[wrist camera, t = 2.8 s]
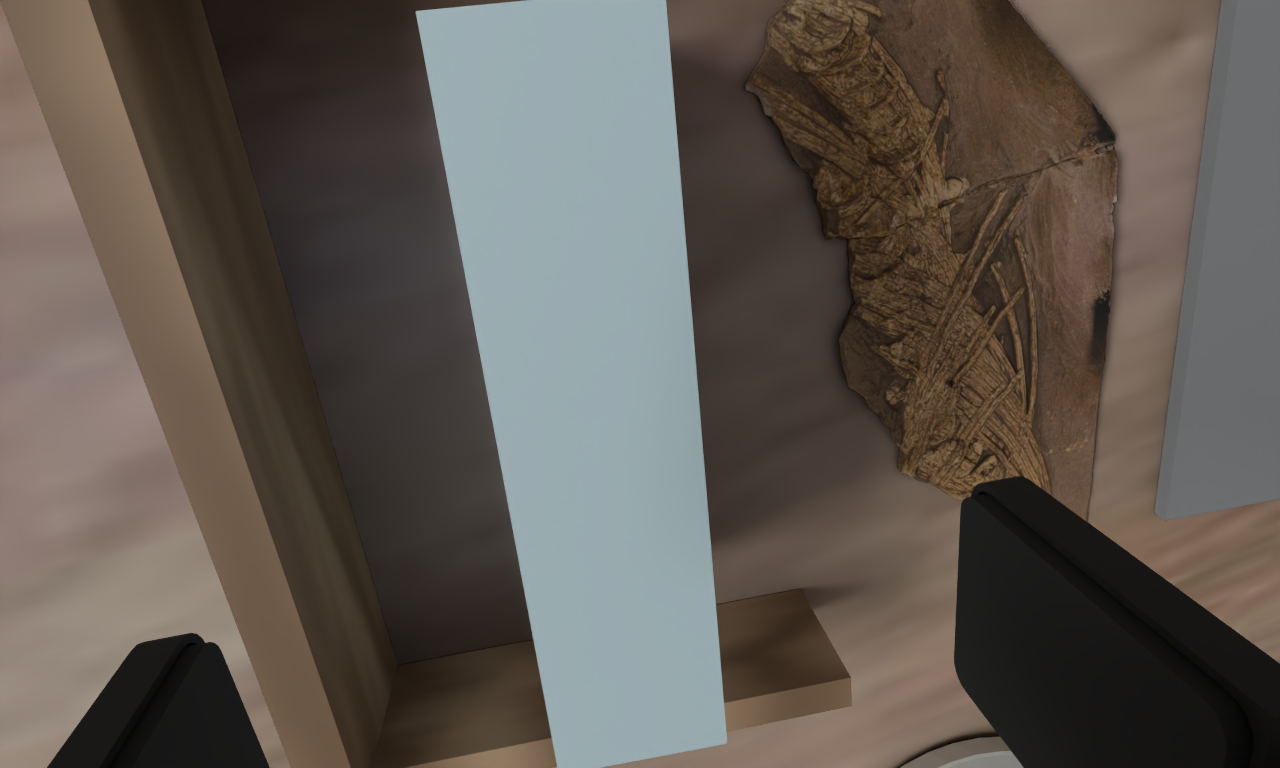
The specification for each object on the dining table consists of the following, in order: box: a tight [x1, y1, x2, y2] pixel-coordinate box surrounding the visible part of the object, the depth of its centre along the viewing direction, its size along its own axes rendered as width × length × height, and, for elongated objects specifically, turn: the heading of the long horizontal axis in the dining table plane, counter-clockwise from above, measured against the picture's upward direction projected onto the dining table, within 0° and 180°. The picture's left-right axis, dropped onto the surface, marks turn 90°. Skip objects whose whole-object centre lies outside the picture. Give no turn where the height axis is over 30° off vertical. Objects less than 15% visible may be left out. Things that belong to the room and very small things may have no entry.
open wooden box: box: [0, 0, 852, 768], centre depth 22 cm, size 17×25×6 cm
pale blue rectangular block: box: [416, 0, 727, 768], centre depth 21 cm, size 4×18×9 cm, turn 6°
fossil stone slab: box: [746, 0, 1118, 522], centre depth 26 cm, size 26×11×1 cm, turn 23°
